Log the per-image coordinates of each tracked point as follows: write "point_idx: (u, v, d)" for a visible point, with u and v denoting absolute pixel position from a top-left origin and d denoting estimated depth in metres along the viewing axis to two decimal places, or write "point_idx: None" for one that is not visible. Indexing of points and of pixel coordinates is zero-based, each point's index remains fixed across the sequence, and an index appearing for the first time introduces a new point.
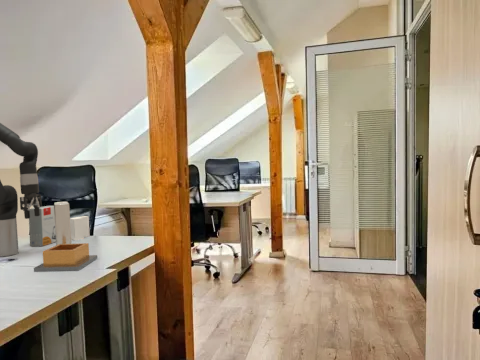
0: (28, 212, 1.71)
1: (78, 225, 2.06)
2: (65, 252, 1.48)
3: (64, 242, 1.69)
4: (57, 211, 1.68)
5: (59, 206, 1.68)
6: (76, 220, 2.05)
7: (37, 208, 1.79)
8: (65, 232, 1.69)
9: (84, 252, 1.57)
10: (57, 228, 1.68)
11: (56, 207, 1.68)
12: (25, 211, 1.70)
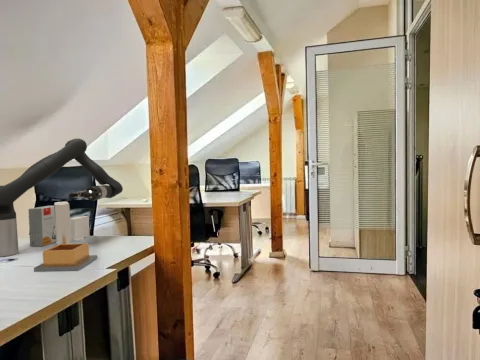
0: (88, 197, 1.83)
1: (78, 225, 2.06)
2: (65, 252, 1.48)
3: (64, 242, 1.69)
4: (57, 211, 1.68)
5: (59, 206, 1.68)
6: (76, 220, 2.05)
7: (74, 196, 1.86)
8: (65, 232, 1.69)
9: (84, 252, 1.57)
10: (57, 228, 1.68)
11: (56, 207, 1.68)
12: (90, 195, 1.84)
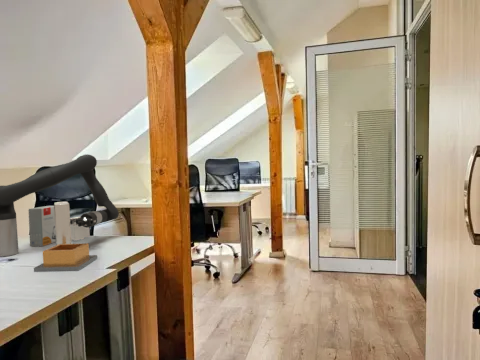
0: (83, 225, 1.79)
1: None
2: (65, 252, 1.48)
3: (64, 242, 1.69)
4: (57, 211, 1.68)
5: (59, 206, 1.68)
6: None
7: None
8: (65, 232, 1.69)
9: (84, 252, 1.57)
10: (57, 228, 1.68)
11: (56, 207, 1.68)
12: (85, 223, 1.79)
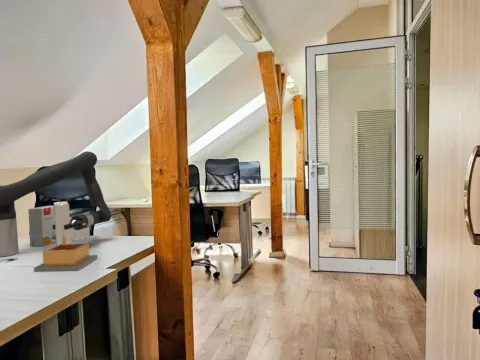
0: (69, 228, 1.71)
1: None
2: (65, 252, 1.48)
3: (64, 242, 1.69)
4: (57, 211, 1.68)
5: (59, 206, 1.68)
6: None
7: None
8: (64, 232, 1.69)
9: (84, 252, 1.57)
10: (57, 228, 1.68)
11: (56, 207, 1.68)
12: (72, 226, 1.71)
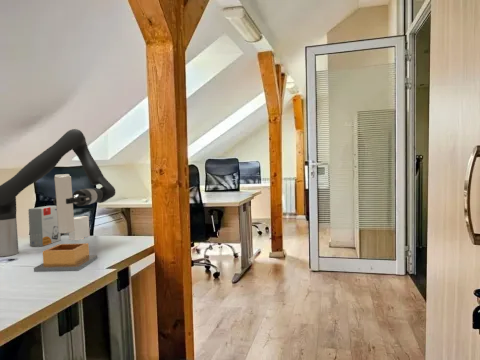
0: (72, 202, 1.57)
1: (78, 225, 2.06)
2: (65, 252, 1.48)
3: (66, 217, 1.55)
4: (58, 184, 1.54)
5: (60, 178, 1.54)
6: (76, 220, 2.05)
7: None
8: (67, 207, 1.55)
9: (84, 252, 1.57)
10: (58, 202, 1.55)
11: (57, 179, 1.54)
12: (74, 200, 1.58)
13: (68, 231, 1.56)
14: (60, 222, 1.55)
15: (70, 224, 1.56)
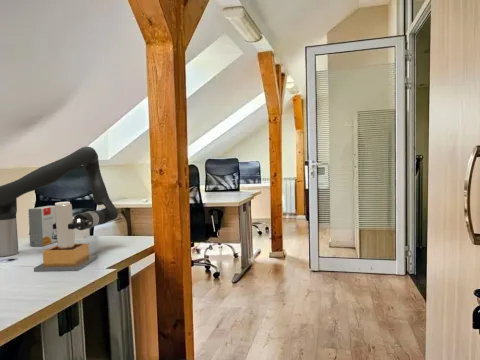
0: (76, 227, 1.54)
1: None
2: (65, 252, 1.48)
3: (67, 247, 1.52)
4: (58, 213, 1.50)
5: (60, 207, 1.50)
6: None
7: None
8: (67, 236, 1.52)
9: (84, 252, 1.57)
10: (59, 231, 1.51)
11: (57, 208, 1.50)
12: (78, 225, 1.54)
13: None
14: None
15: None
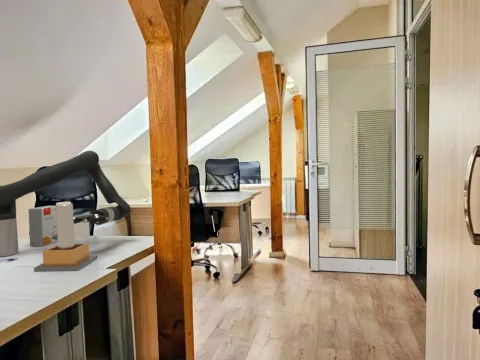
0: (95, 222, 1.67)
1: (78, 225, 2.06)
2: (65, 252, 1.48)
3: (67, 247, 1.52)
4: (59, 212, 1.51)
5: (61, 207, 1.51)
6: None
7: (79, 221, 1.69)
8: (68, 236, 1.52)
9: (84, 252, 1.57)
10: (59, 231, 1.51)
11: (58, 208, 1.51)
12: (97, 220, 1.67)
13: None
14: None
15: None
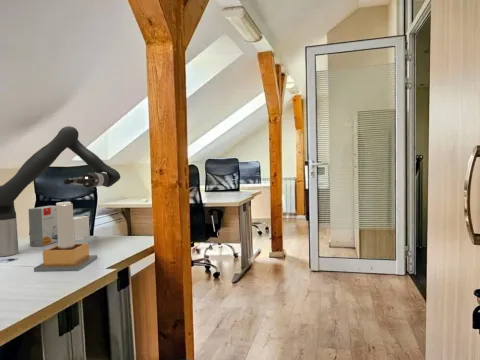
0: (84, 183, 1.76)
1: (78, 225, 2.06)
2: (65, 252, 1.48)
3: (67, 247, 1.52)
4: (59, 212, 1.51)
5: (61, 207, 1.51)
6: (76, 220, 2.05)
7: (70, 182, 1.79)
8: (68, 236, 1.52)
9: (84, 252, 1.57)
10: (59, 231, 1.51)
11: (58, 208, 1.51)
12: (86, 181, 1.77)
13: None
14: None
15: None
